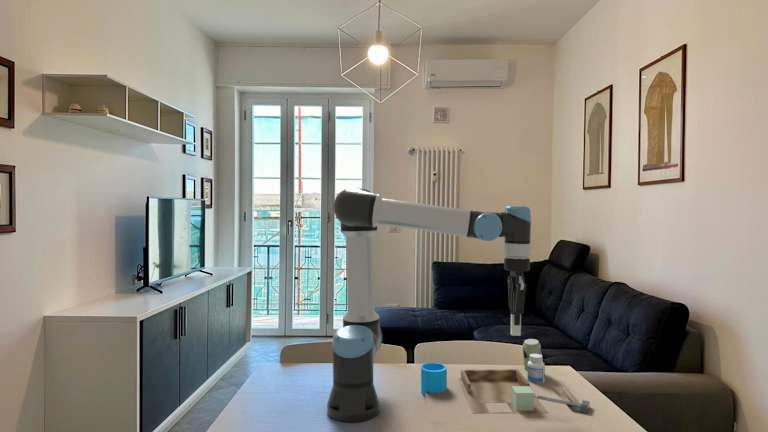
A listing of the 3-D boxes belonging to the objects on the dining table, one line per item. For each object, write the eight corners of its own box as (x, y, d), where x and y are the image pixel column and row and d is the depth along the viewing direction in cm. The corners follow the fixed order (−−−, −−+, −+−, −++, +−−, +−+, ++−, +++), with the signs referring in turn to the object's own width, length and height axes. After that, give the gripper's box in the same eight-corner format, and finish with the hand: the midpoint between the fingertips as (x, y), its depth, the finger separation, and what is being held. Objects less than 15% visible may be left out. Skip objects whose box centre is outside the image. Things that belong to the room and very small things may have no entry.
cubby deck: (472, 418, 131) (472, 402, 131) (457, 382, 157) (457, 369, 157) (548, 418, 131) (548, 402, 131) (520, 382, 157) (520, 369, 157)
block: (516, 410, 132) (516, 392, 132) (511, 403, 137) (511, 386, 137) (533, 410, 132) (533, 393, 132) (528, 403, 137) (528, 386, 137)
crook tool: (587, 413, 134) (587, 407, 134) (536, 403, 141) (536, 397, 141) (589, 407, 138) (589, 401, 138) (540, 397, 145) (540, 391, 145)
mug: (446, 398, 145) (446, 372, 144) (419, 397, 146) (419, 370, 146) (447, 384, 156) (447, 359, 156) (423, 382, 158) (423, 358, 158)
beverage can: (544, 372, 167) (544, 338, 166) (538, 378, 160) (539, 343, 160) (526, 369, 170) (526, 336, 170) (520, 375, 164) (520, 341, 164)
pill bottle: (532, 380, 159) (532, 351, 159) (547, 384, 155) (547, 355, 155) (524, 384, 155) (524, 355, 155) (539, 389, 151) (539, 359, 151)
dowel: (576, 409, 137) (576, 404, 137) (562, 393, 149) (562, 388, 149) (581, 410, 137) (581, 404, 137) (567, 393, 149) (567, 388, 149)
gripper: (536, 259, 135) (534, 341, 136) (523, 255, 148) (521, 329, 149) (510, 259, 135) (508, 340, 136) (499, 254, 148) (498, 329, 149)
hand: (515, 334), depth 142 cm, fingers closed
